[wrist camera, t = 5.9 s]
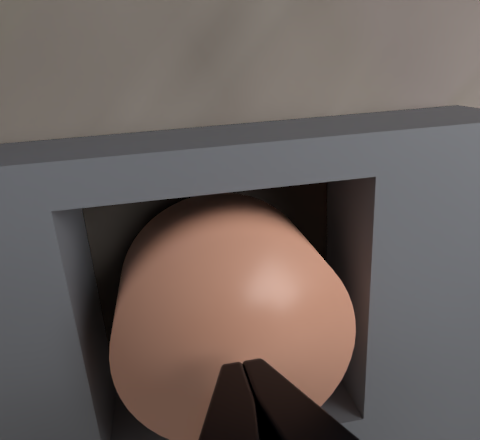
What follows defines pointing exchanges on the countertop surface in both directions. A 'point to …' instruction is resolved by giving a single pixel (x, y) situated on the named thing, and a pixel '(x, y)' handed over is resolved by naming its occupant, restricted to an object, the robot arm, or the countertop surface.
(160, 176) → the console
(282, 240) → the button terracotta
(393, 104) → the countertop surface
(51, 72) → the countertop surface
